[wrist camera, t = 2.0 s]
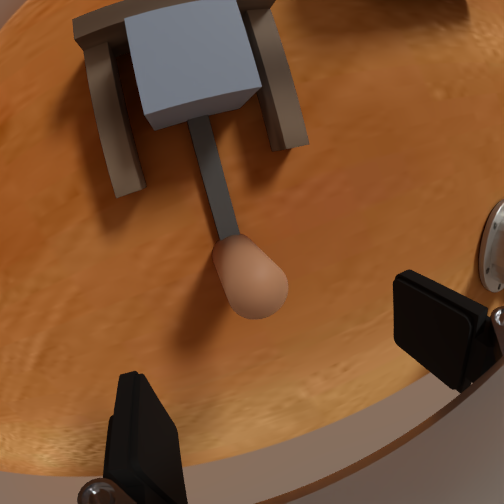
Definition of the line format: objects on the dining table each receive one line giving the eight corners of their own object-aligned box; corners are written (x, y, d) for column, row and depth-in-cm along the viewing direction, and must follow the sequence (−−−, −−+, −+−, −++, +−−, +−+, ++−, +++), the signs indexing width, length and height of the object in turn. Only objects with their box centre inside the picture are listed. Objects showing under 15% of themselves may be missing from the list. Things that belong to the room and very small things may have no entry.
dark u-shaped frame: (292, 147, 21) (323, 142, 16) (125, 194, 19) (108, 201, 14) (253, 9, 17) (272, -23, 13) (92, 47, 16) (72, 19, 11)
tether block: (277, 262, 23) (316, 298, 16) (201, 287, 22) (211, 335, 16) (219, 36, 18) (237, -14, 11) (137, 55, 17) (121, 10, 10)
